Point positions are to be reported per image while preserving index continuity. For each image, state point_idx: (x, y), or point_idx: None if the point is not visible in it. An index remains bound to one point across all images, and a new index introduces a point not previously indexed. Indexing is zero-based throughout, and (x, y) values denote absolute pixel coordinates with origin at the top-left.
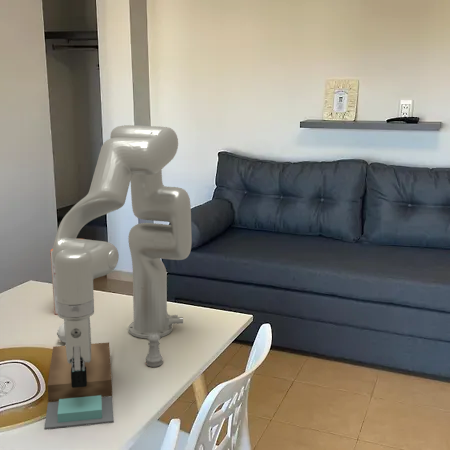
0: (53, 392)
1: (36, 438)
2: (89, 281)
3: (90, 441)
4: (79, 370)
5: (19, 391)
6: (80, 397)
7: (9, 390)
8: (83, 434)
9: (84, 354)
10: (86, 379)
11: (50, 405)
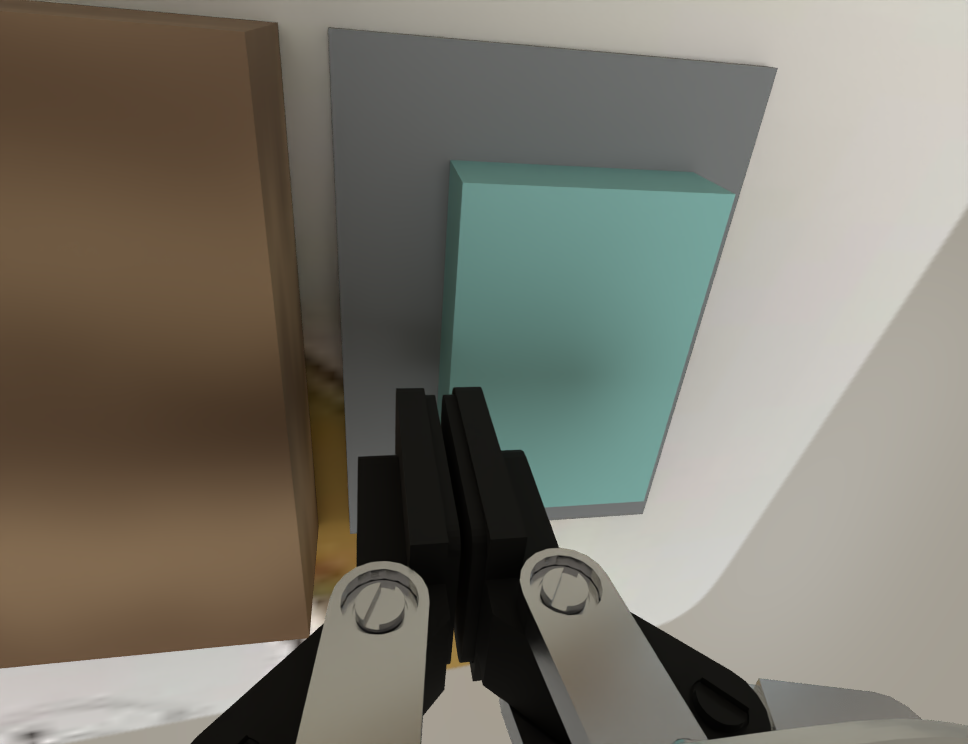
0: (310, 552)
1: (700, 526)
2: None
3: (891, 262)
4: (897, 714)
5: (160, 671)
6: (454, 373)
7: (147, 710)
8: (794, 304)
9: None
10: (493, 432)
11: None
